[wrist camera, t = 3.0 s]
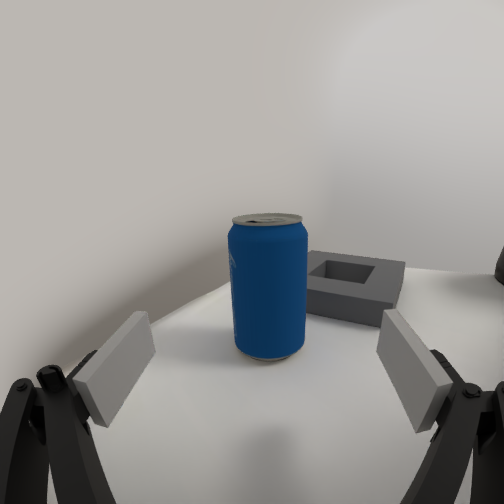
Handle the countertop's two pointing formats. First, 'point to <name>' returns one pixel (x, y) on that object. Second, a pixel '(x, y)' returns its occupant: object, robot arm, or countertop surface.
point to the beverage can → (268, 284)
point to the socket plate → (352, 286)
